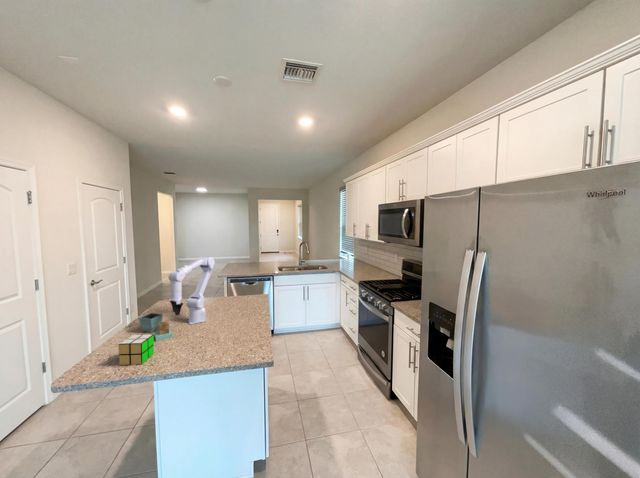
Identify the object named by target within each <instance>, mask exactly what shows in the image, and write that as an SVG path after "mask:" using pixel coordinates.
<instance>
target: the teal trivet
mask: <svg viewBox="0 0 640 478" xmlns="http://www.w3.org/2000/svg"><path fill="white" fill-rule="evenodd" d="M153 332H154V333H153V335H154V341H155V342H160V341H164V340H170V339H173V338H174V337H173V336H174V335H173V334H174V333H173V331H172V329H171V328H169V333H166V334H162V335H160V334H159V332H158V331H153Z"/></svg>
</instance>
